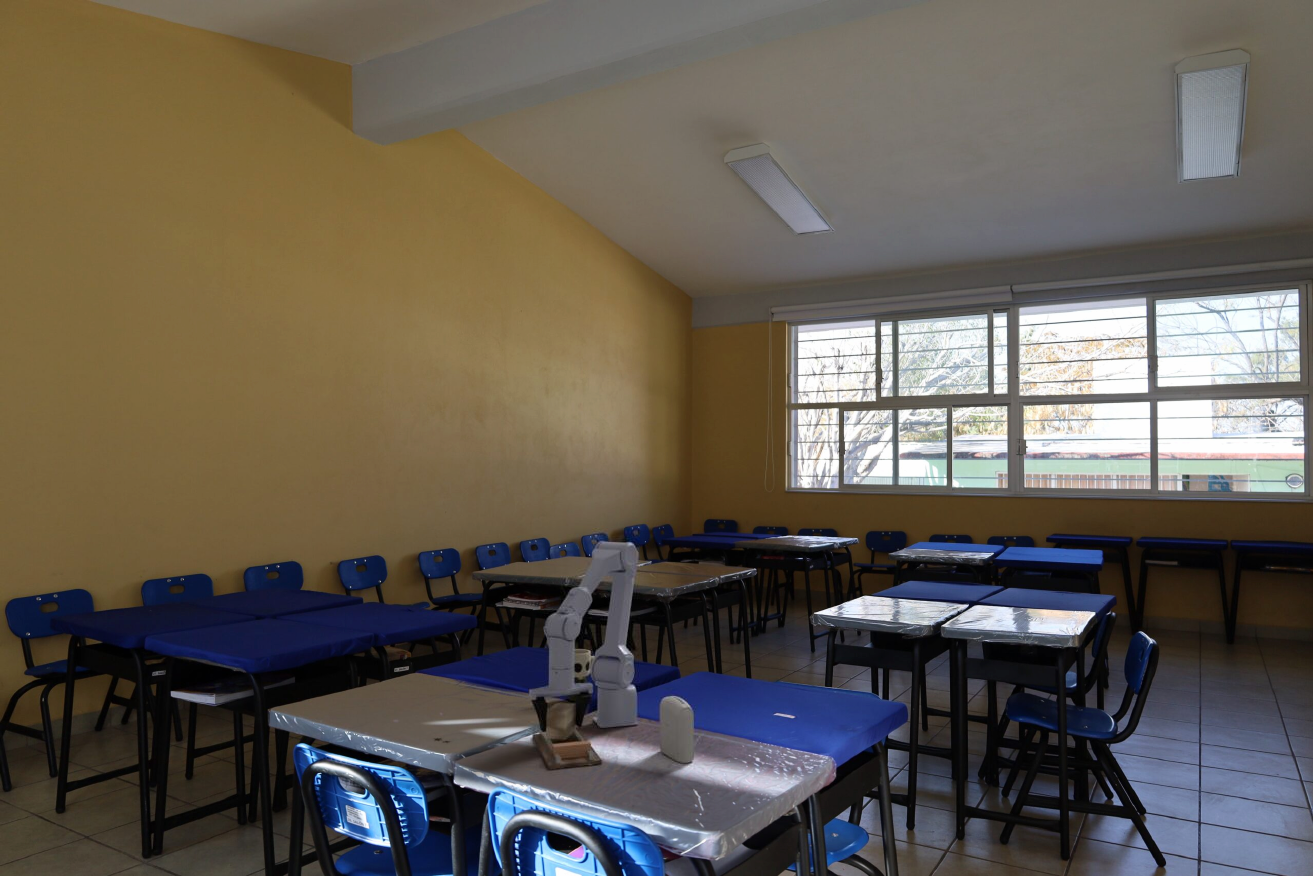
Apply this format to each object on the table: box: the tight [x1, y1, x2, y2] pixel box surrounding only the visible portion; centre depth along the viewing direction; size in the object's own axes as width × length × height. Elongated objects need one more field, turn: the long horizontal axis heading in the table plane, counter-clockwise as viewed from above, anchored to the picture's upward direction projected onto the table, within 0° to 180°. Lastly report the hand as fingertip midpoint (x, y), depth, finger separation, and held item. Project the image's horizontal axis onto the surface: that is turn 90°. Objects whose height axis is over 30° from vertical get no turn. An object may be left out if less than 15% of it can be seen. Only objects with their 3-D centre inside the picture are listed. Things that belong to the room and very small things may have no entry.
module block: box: [546, 702, 577, 740], centre depth 181 cm, size 4×7×6 cm, turn 167°
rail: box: [538, 728, 594, 764], centre depth 176 cm, size 8×21×1 cm, turn 18°
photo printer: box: [659, 695, 695, 764], centre depth 172 cm, size 10×4×12 cm, turn 26°
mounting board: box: [532, 729, 603, 770], centre depth 176 cm, size 11×22×1 cm, turn 18°
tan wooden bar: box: [552, 740, 592, 759], centre depth 170 cm, size 8×2×2 cm, turn 108°
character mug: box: [565, 648, 595, 702], centre depth 218 cm, size 11×7×13 cm, turn 125°
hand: (561, 728), depth 181 cm, fingers closed on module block, 7 cm apart
